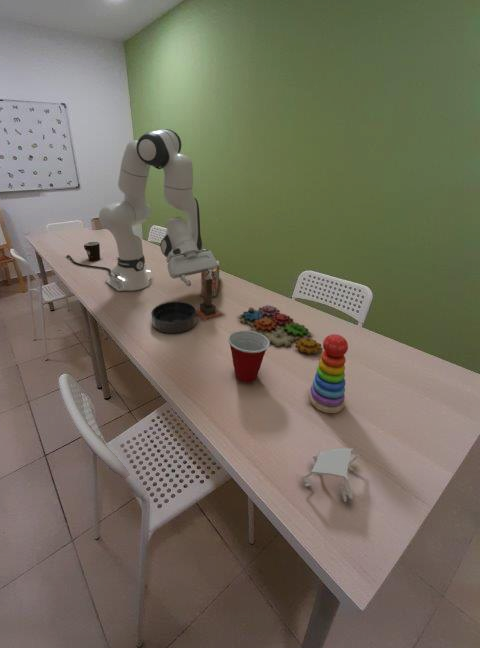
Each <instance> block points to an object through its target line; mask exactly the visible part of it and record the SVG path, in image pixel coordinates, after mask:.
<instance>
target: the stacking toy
mask: <svg viewBox="0 0 480 648" xmlns="http://www.w3.org/2000/svg"><path fill="white" fill-rule="evenodd" d="M322 349H323V352H322V353H321V355H320V357H321V358H320V359H319V360H318V365H317V367H316V372H315V375H314V378H313V380H312V385H311V387H310V391H309V392H308V399H309V402H310V403H311V404H312V406H313V407H315V408H316V409H317V410H319V411H321V412H323V413H326V414H327V413H328V414H336V413H339V412H341V411H342V410H343V409H344V408H345V393H346V378H345V377H346V373H345V371H346V365H345V364H346V361H347V360H346V356H345V355H346V354H347V352H348V350H349V343H348V341H347V340H346V339H345V337H343V336H342V335H340V334H337V333H333V334H328V335H327V336H326V337H325V338H324V340H323V342H322Z"/></svg>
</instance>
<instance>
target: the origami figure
mask: <svg viewBox="0 0 480 648" xmlns="http://www.w3.org/2000/svg"><path fill="white" fill-rule="evenodd" d="M351 455H353V458H351ZM350 458H351V459H350ZM359 458H360V454H358V452H356V451H355V450H354V448H349V447H346V448H341V447H340V448H332V449H328V450H325V451H321V452H320V451H319V453H317V454H316V453H315V454H314V453H313V455H312V459H313V461H314V466H313V468H312V469H311V470H310V471H309V472H308V473H307V474H304V475H301V476H300V477H299V478H300V479H301V480H302V481H303V482H306V483H305V485H304V486H305V487H307V488H308V487H309V486H312V485H313V482H312V481H310V480H308V479H307V478H309V477H310V476H312V475H321V476H323V475H325V476H334V477H339V478H340V477H341V478H343V480H344V483H345V487H346V488H345V487H344V486H340V491H341V492H340V493H341V495H342V499H343V502H345V503H347V500H348V498H347V496H348V497H349V498H350V499H351V500H353V499H354V498H353V497H354V493H353V490H352V487H351V485H350V482H349V479H348V471H351V472H354V468H353V467H352V466H351V464H352V463H353V462H356V461H357V460H358V459H359Z"/></svg>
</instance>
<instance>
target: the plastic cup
mask: <svg viewBox="0 0 480 648" xmlns="http://www.w3.org/2000/svg"><path fill="white" fill-rule="evenodd" d="M227 342H228V344H229V347H230V351H231V358H232V366H233V369H234V375H235V378H236V380H237V381H239V382H242V383H244V384H249V383H253V382H256V380H257V378H258V375H259V371H260V369H261V366H262V363H263V359H264V356H265V355H266V352H267V350H268V349H269V347H270V344H271V343H270V342H269V340H268V339H267V337H265V336H264V335H262V334H260V333H259V332H254V331H252V330H248V329H244V330H236V331H233V332H231V333H230V334H228V336H227Z"/></svg>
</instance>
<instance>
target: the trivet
mask: <svg viewBox="0 0 480 648" xmlns="http://www.w3.org/2000/svg"><path fill="white" fill-rule="evenodd" d="M195 309H196V313H197V316H198V317H199V318H200V319H201V320H203V321H205V320H209V319H212V318H215V317H220V316H222V313H221V311H219V310H218V309H216V313H214V314H211V315H208V316H206V315H205V314H204V313H203V312H201V311H200V307H199V308H195Z"/></svg>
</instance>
